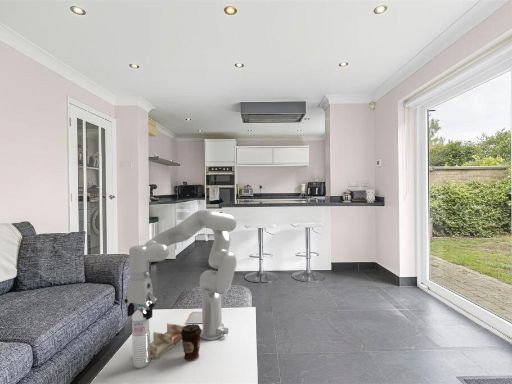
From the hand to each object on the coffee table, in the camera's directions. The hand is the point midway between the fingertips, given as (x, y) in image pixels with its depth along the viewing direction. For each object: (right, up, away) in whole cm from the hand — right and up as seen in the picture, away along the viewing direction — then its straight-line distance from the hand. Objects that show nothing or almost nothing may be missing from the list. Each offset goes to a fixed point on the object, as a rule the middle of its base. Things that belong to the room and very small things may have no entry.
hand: (139, 316), depth 119 cm
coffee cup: (+21, -20, +4) cm, 29 cm away
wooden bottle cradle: (+5, -20, +15) cm, 25 cm away
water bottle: (+1, -20, 0) cm, 20 cm away
